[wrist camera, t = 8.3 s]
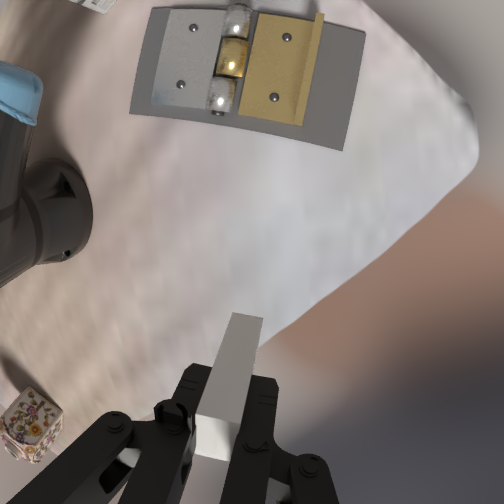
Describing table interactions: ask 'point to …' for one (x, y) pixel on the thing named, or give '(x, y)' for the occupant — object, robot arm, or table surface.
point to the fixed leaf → (198, 58)
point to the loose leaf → (274, 67)
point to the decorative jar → (30, 426)
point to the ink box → (96, 4)
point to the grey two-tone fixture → (320, 96)
